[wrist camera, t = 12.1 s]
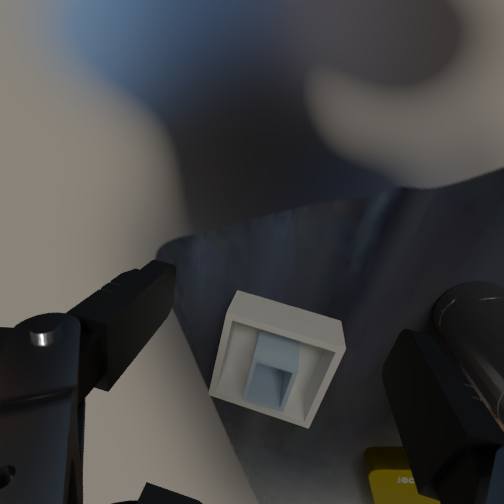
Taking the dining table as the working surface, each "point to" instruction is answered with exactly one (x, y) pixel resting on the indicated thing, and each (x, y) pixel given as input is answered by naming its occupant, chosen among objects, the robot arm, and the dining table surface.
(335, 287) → the dining table surface
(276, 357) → the small crate
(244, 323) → the large crate
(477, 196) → the dining table surface
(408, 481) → the element tile
